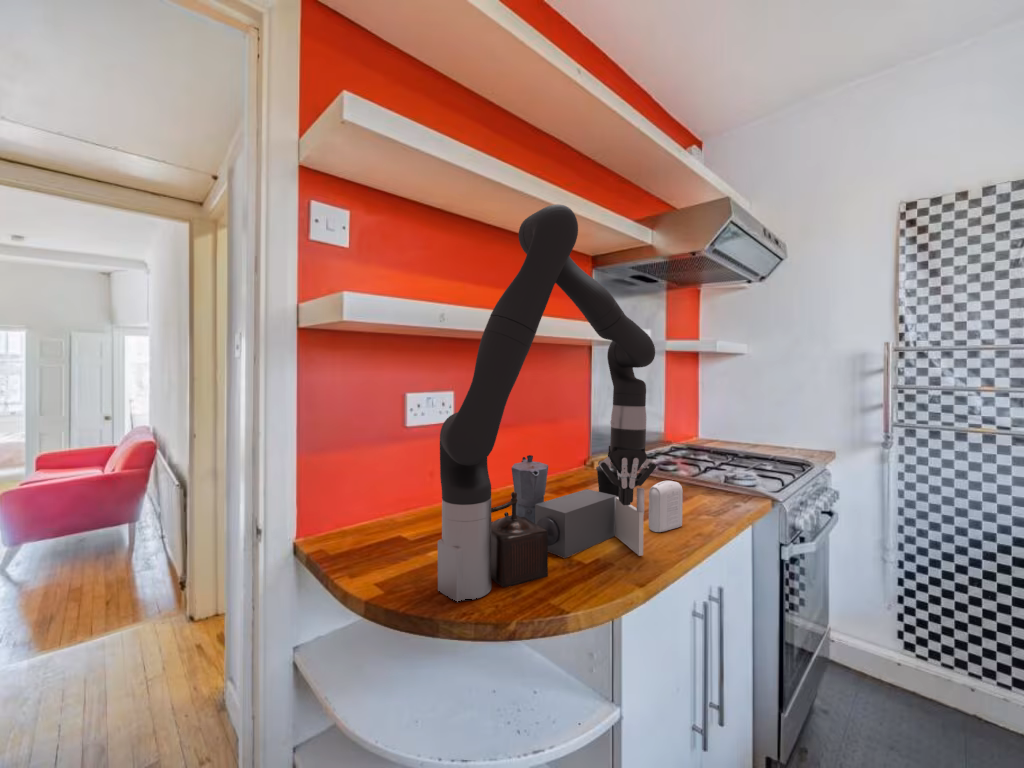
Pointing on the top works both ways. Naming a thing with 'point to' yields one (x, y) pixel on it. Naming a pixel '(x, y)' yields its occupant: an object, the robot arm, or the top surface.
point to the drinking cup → (607, 481)
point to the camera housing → (577, 521)
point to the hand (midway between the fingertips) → (625, 504)
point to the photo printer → (665, 506)
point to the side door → (630, 523)
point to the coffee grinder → (517, 548)
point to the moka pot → (529, 486)
